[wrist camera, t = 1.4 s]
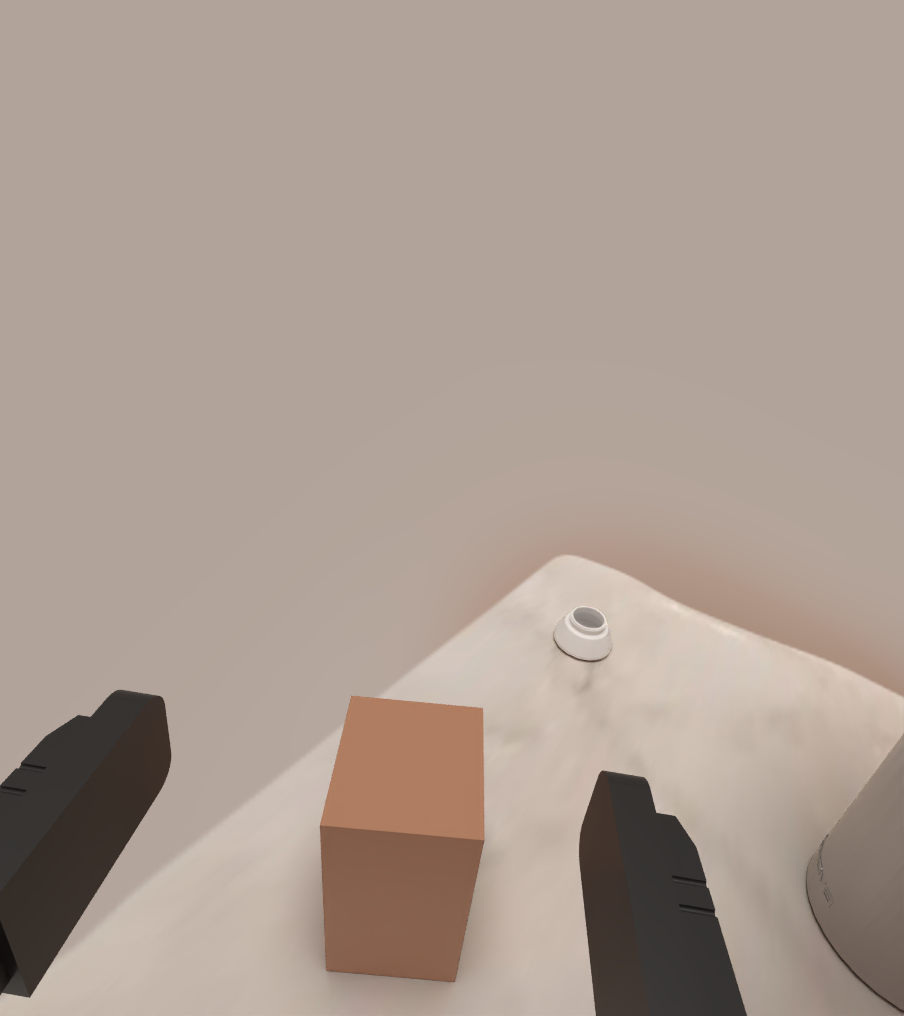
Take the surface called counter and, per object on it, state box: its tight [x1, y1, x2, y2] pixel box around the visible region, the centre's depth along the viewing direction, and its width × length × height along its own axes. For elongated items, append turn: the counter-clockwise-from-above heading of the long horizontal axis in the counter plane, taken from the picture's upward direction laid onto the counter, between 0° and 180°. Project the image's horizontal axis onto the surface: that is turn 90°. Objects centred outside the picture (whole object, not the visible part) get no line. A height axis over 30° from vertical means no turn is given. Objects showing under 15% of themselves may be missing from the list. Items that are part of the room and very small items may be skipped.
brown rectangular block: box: [320, 696, 484, 982], centre depth 28 cm, size 6×6×12 cm
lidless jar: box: [554, 606, 612, 661], centre depth 50 cm, size 5×3×5 cm
